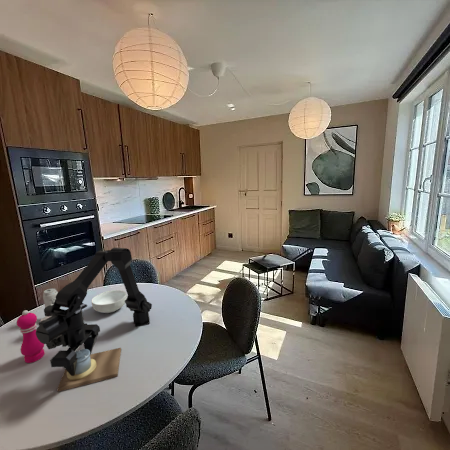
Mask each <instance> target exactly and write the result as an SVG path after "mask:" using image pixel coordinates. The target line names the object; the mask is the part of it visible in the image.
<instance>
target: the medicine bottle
mask: <svg viewBox="0 0 450 450" xmlns="http://www.w3.org/2000/svg"><path fill="white" fill-rule="evenodd" d="M52 306H53V304H52V305H49V306H47V307H46V308H45V307H44V308H43V313H44V317H43V318H41V319H40V321H39V322H41V321H43V320H46V319H48V318H49V317H51V316H53V315H51V314H50V311H51V309H52Z"/></svg>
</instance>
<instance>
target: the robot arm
mask: <svg viewBox="0 0 450 450" xmlns="http://www.w3.org/2000/svg"><path fill="white" fill-rule="evenodd" d="M132 260H133V257H132V253H131V250H130V249H129V248H127V247H112V248H111V249H107V250H98V251H97V252H95V254H94V256H93V258H92V259H91V260H90V261H89V263H87V264H86V266H85V267H84V269H83V270H82V271H81V272H80V273H79V275H77V277H76V278H75V279H73V281H72V282H70V283H67V284H65V286H63V287H62V288H61V289H60V290H59V291H57V292H58V293H57V295H56V297H55V298H56V300H55V302H54V304H53V306H52V309H51V311H50V314H51V315H53V316H51V317H49V318H48V319H46V320H43V321H39V322H38V326H37V328H36V336H37V338H38V340H39V341H40V342H41V343H43V344H44V345H46V348H47V349H48V350H52V349H56V348H57V347H59V346H62V347H63V348H66V347H68V348H67V349H66V350H59V351H58V352H57V353H56V354H55V355H53V357H52V358H51V359H50V360H49V362H50V366H51V368H63V369H64V370H65V369H66V370H67V371H68V373H69V374H70V375H71V376H74V375H75V372H76V366H77V359H78V358H76V356H77V355H76V351H78V349H80V347H81V346H82V345H83V347H84V349H88V350H90V355H91V354H92V353H93V350H94V346H95V343H96V341H97V338H98V336H99V333H100V332H101V327H100V325H98V324H97V323H95V324H92V323H91V324H90V323H89V324H88V323H85V322H84V315H83V310H84V309H85V308H87V307H88V304H86V303H83V302H84V301H85V298H86V297H87V295H88V288H89V287H90V286H91V284H92V283H93V282H94V280H95V279H96V278H97V276H98V275H99V273H101V271H102V270H103V268H104V267H105V266H106V264H107V263H108V262H111V264H112V265H113V266H114V267H115V268H116V269H117V270H118V273H119V274H120V277H121V280H122V283H123V286H124V289H125V290H126V291H125V292H126V294H127V299H126V300H125V306H126V308H128V309H129V310H130V311H131V312H133V313H132V319H133V324H134V327H140V326H144V325H150V324H151V322H150V321H151V320H150V311H151V309H152V307H153V304H152V303H151V302H150V301H148V299H147V298H146V296H145V294H144V293H142V292H141V291H140V289H139V287H138V284H137V281H136V278H135V275H134V272H133V268H132V267H131V263H132ZM60 307H61V309H60ZM64 308H66V309H64Z"/></svg>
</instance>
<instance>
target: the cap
mask: <svg viewBox="0 0 450 450" xmlns="http://www.w3.org/2000/svg"><path fill="white" fill-rule="evenodd" d="M75 352H76V355H77V356H76V358H78V359H77V366H76V372H75V374H81V373H84V372H86V371H87V370H88V369H89V368H90V367H91V359H90V350H88V349H85V348H83V349H82V348H81V349H79V350H78V349H77V350H76V351H75Z"/></svg>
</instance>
